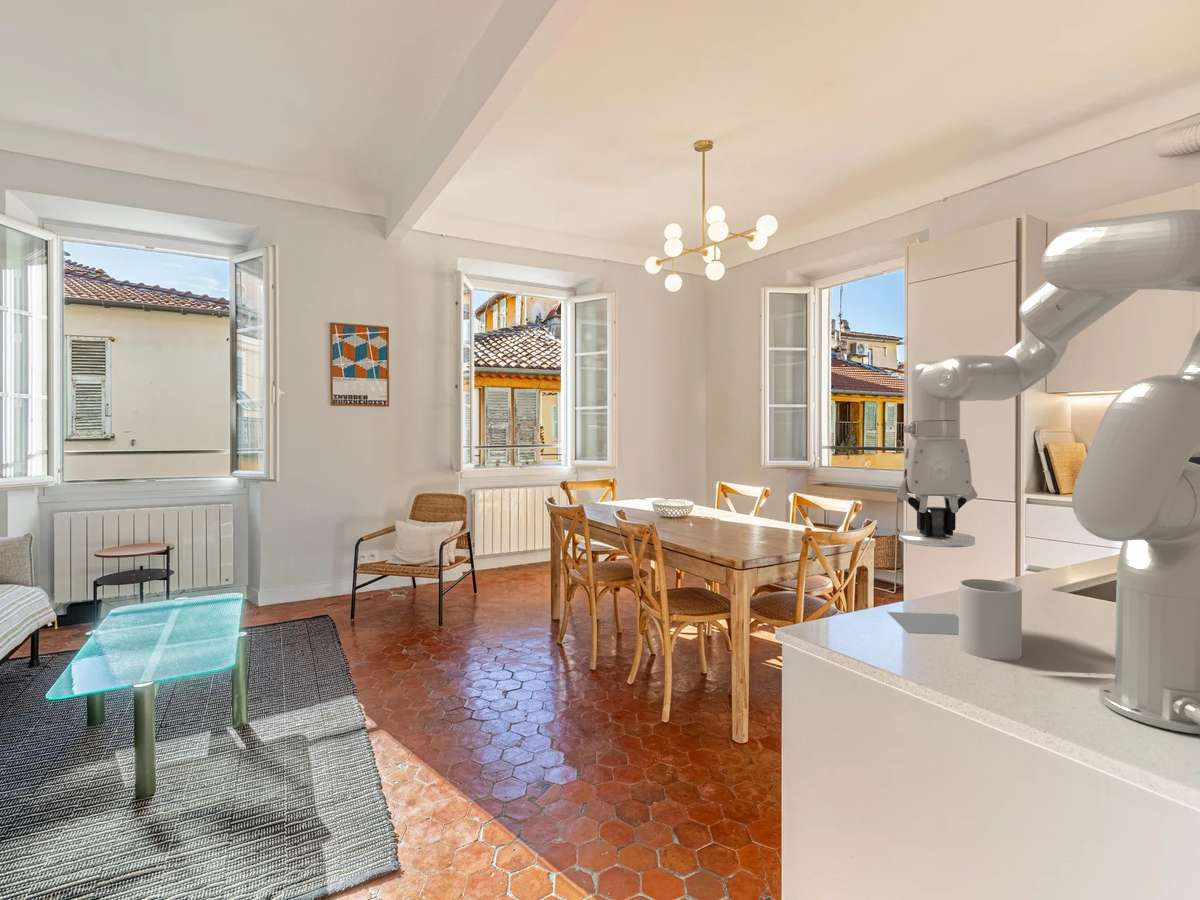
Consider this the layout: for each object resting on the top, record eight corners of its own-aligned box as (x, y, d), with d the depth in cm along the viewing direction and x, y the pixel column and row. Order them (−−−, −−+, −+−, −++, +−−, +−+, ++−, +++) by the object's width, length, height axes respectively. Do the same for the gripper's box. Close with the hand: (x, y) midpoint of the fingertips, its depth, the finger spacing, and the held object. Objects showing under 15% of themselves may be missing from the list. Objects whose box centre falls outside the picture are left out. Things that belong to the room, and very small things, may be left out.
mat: (983, 638, 105) (983, 635, 105) (908, 636, 107) (908, 632, 107) (954, 617, 117) (954, 614, 117) (887, 615, 119) (887, 612, 119)
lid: (987, 547, 104) (987, 512, 104) (911, 546, 106) (911, 511, 106) (958, 536, 116) (958, 503, 115) (890, 535, 118) (889, 503, 117)
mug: (1009, 668, 92) (1009, 595, 92) (948, 652, 99) (949, 584, 99) (1038, 650, 99) (1039, 582, 99) (980, 636, 106) (980, 573, 106)
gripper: (893, 432, 108) (893, 537, 108) (995, 430, 105) (996, 538, 106) (880, 432, 115) (881, 530, 116) (976, 430, 112) (976, 531, 113)
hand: (936, 533), depth 111 cm, fingers closed on lid, 3 cm apart
